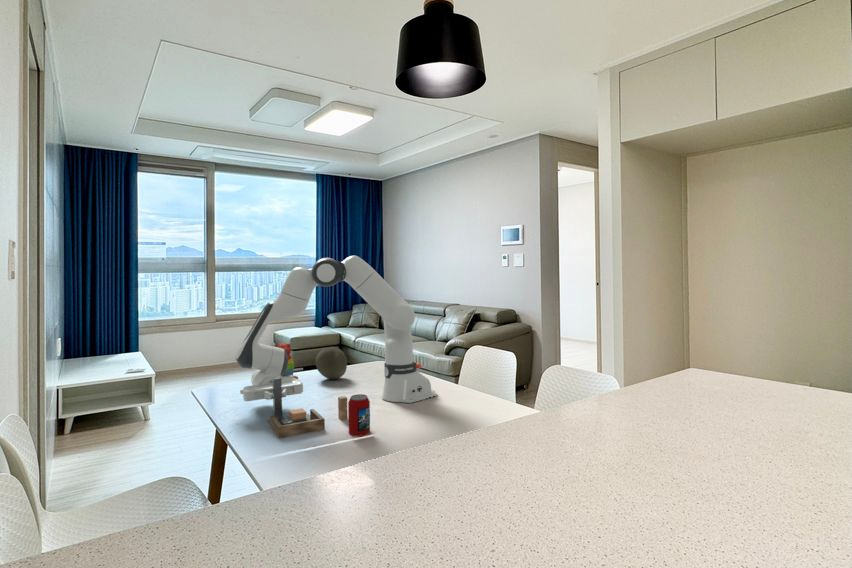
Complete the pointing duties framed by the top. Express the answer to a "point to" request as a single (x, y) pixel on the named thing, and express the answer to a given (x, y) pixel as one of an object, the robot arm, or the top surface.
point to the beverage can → (359, 415)
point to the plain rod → (342, 407)
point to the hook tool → (280, 403)
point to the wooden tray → (298, 425)
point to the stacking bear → (290, 361)
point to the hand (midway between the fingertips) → (278, 395)
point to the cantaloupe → (331, 363)
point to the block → (297, 414)
